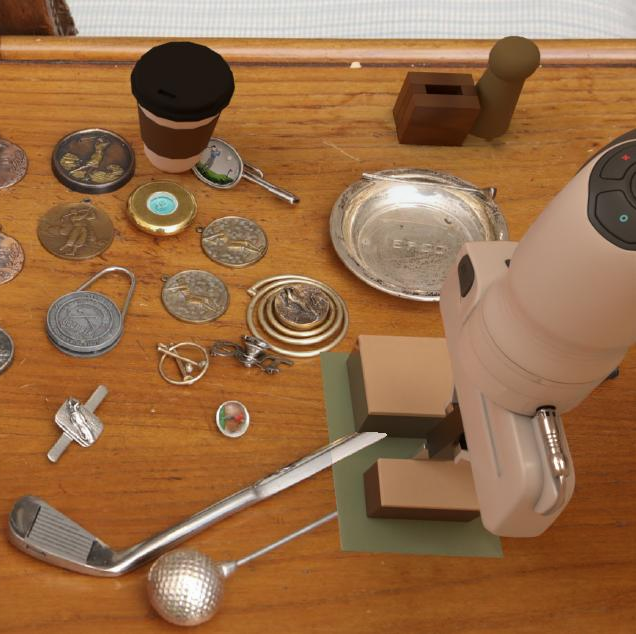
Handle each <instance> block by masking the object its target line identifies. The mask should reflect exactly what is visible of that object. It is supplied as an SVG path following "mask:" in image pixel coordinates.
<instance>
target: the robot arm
mask: <svg viewBox="0 0 636 634" xmlns="http://www.w3.org/2000/svg"><path fill="white" fill-rule="evenodd" d="M438 307H439V311H440V315H441V321H442V326H443V331H444V335H445V336H444V337H445V338H446V342H447V347H448V352H449V357H450V362H451V367H452V372H453V378H452V384H451V390H450V396H449V398H448V399H447V401H446V402H445V403H444V407H445V413H446V416H447V415H448V414H449V413H450V412H451V411H452V410H454V409H455V408H456V407H457V406H458V405H459V407H460V412H461V417H462V422H463V428H464V433H465V438H466V441H458V442H457V443H456V444H455V446H453V454H454V461H455V465H456V466H457V467H469V468H472V473H473V478H474V483H475V488H476V493H477V498H478V503H479V509H480V514H481V519H482V523H483V526H484V527H485V528H486V529H487V530H488V531H489V532H491V533H492V534H494V535H497V536H500V537H504V538H536V537H539V536H541V535H542V534H543V533H545V532H546V530H548V528H550V526H552V524H553V523H554V522H555V521H556V520H557V519H558V517H559V516H560V515H561V513H562V512H563V511H564V510H565V508H567V505H568V504H569V502H570V500H571V498H572V497H573V494H574V491H575V488H576V487H575V486H576V473H575V467H574V462H573V458H572V454H571V450H570V446H569V443H568V439H567V436H566V431H565V427H564V423H563V419H562V416H561V415H562V414H565V413H568V412H570V411H573V410H574V409H575V408H576V407H578V406H579V405H580V404H581V403H582V402H583V401H585V400H586V398H588V396H589V395H590V394H591V393H593V391H594V390H596V389H597V388H598V387H599V386H600V385H601V384H602V383H603V382H604V381H605V380H606V379H607V378H608V377H609V376H610V375H611V374H612V373H613V372H615V370H616V369H617V368H618V367H619V366H620V364H621V363H622V362H623V360H624V359H625V357H626V356H627V353H628V351H629V348H630V346H633V345H635V344H636V127H635V128H633V129H631V130H629V131H627V132H625V133H623V134H621V135H619V136H618V137H616V138H615V139H613V140H612V141H610V142H609V143H607V144H606V145H605V146H603V147H602V148H601V149H599V150H598V151H597V152H596V153H594V154H593V155H592V156H590V158H588V159H587V161H586V162H584V163H583V164H582V165H581V167H580V168H579V169H578V170H577V171H576V172H575V174H573V176H572V177H571V179H570V180H569V181H568V182H567V183H566V184H565V185H564V186H563V187H562V188H561V189H560V190H559V191H558V192H557V194H555V196H554V197H552V199H551V200H550V201H549V202H548V204H546V206H545V207H544V208H543V209H542V211H541V212H540V213H539V214H538V215H537V216H536V218H535V219H534V221H533V222H532V223H531V225H530V226H529V227H528V229H527V230H526V231H525V232H524V234H523V236H522V237H521V238H520V240H519V241H515V240H513V241H511V240H475V241H465V242H464V243H463V244H462V245H461V246H460V249H459V251H458V252H457V255H456V260H455V262H454V263H453V264H452V266H451V268H450V269H449V271H448V273H447V274H446V276H445V278H444V280H443V283H442V284H441V287H440V290H439V300H438Z"/></svg>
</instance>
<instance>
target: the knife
mask: <svg viewBox="0 0 636 634" xmlns="http://www.w3.org/2000/svg"><path fill="white" fill-rule="evenodd" d="M426 437H427V444H426V443H424V444H423V445H422V446H420V447H419V448H418V449H417V450H416V451H415V452H413V453H412V454H411V455H410V456H409V457H407V458H406V459H407V460H431V461H448V460H454V454H453V446H455V444H456V443H457V442H458V441H466V438H465V433H464V428H463V422H462V417H461V412H460V407H459V405H458V406H457V407H456V408H455V409H454V410H452V411H451V412H450V413H449V414H448V415H447V416H446V417H444V418H443V419H442V420H441V421H440V422H439V423H438V424H436V425H435V426H434V427H433V428H432V429H431V430H430V431H428V432H427V433H426Z"/></svg>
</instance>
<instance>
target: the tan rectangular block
mask: <svg viewBox="0 0 636 634" xmlns="http://www.w3.org/2000/svg"><path fill="white" fill-rule="evenodd" d="M363 479H364V491H365V503H366V514H367V518H385V519H408V520H430V521H453V522H470V521H472V520H474V519H475V518H477V517H479V516H481V514H480V509H479V503H478V498H477V493H476V488H475V483H474V478H473V473H472V468H469V467H457V466H456V465H455V462H454V461H431V460H407V459H384V458H379V459H378V460H377V461H376V462H375V463H374V464H373V465H372V466H371V467H370V468H369V469H368V470H367V471H366V472H364V473H363Z"/></svg>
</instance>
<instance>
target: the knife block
mask: <svg viewBox="0 0 636 634" xmlns="http://www.w3.org/2000/svg"><path fill="white" fill-rule="evenodd" d="M475 85H476V83H475V81H474V77H473V74H472V73H466V72H465V73H462V72H436V71H435V72H434V71H411V70H410V71H407V73H406V76H405V78H404V81H403V83H402V86H401V88H400V90H399V93H398V95H397V97H396V100H395V102H394V106H393V109H392V113H393V114H392V115H393V118H394V123H395V128H396V134H397V139H398V144H400V145H423V146H424V145H425V146H451V147H462V146H463V144H464V142H465V140H466V138H467V137H468V134H469V133H468V132H469V130H470V129H471V127H472V125H473V123H474V121H475V119H476V117H477V115H478V113H479V111H480V109H481V107H480V104H479V100H478V96H477V92H476V88H475Z"/></svg>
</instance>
